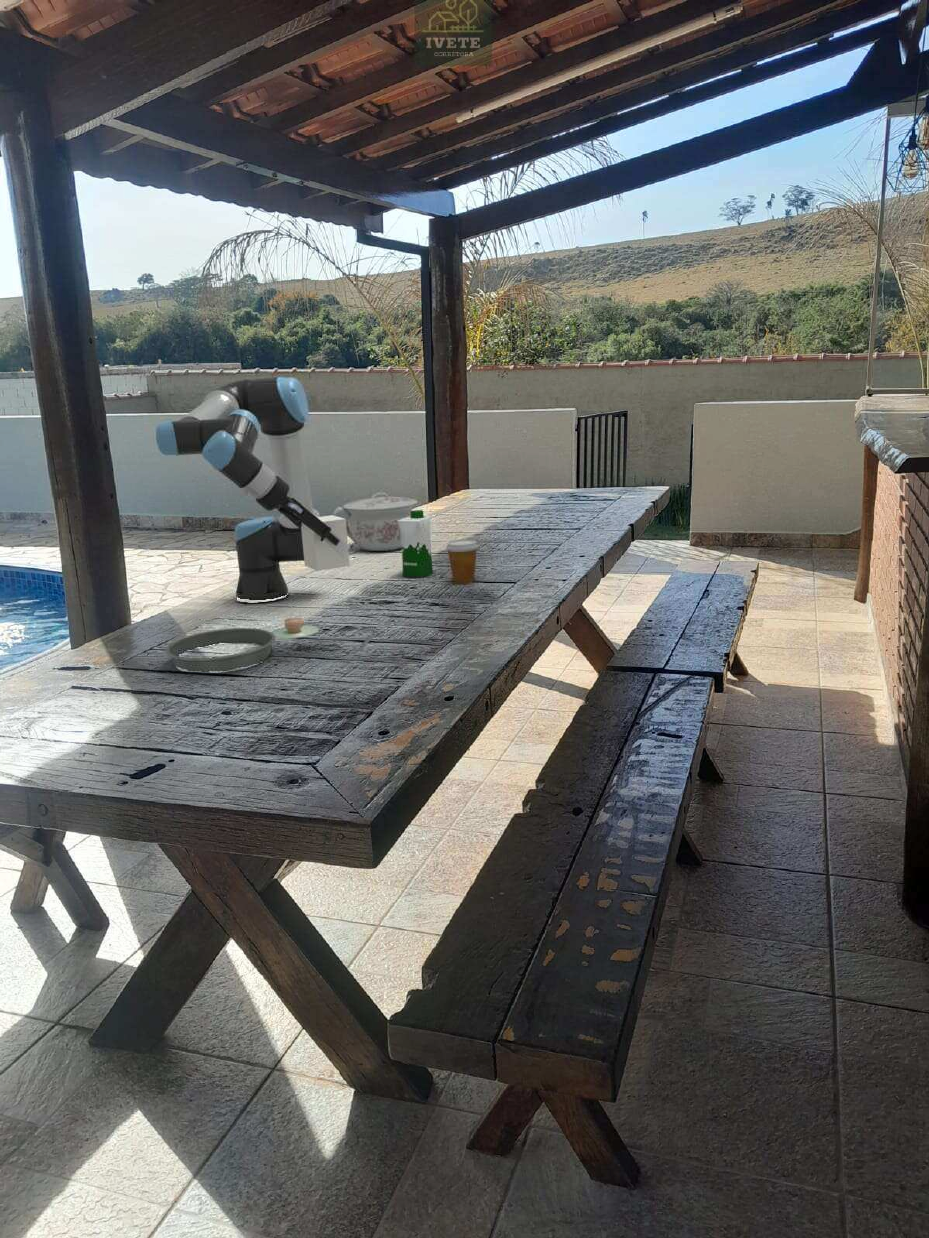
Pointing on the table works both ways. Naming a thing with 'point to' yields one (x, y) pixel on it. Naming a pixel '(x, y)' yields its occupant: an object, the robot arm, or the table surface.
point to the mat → (365, 642)
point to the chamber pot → (377, 521)
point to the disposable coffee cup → (462, 560)
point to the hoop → (215, 638)
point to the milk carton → (416, 545)
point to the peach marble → (293, 625)
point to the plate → (305, 631)
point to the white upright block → (324, 545)
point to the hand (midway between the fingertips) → (339, 548)
